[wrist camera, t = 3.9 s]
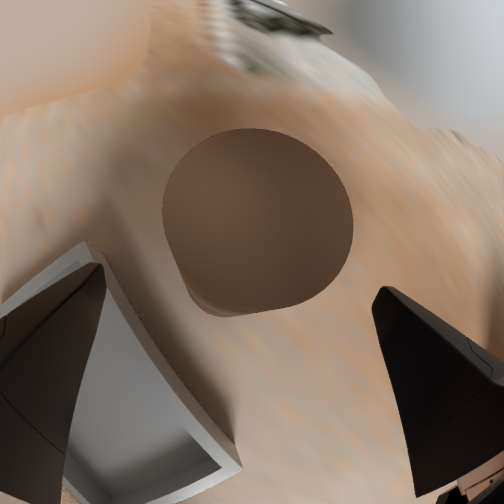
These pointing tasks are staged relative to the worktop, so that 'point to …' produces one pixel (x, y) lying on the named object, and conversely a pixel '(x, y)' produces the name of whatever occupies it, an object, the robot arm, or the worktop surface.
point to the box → (132, 409)
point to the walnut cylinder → (256, 222)
